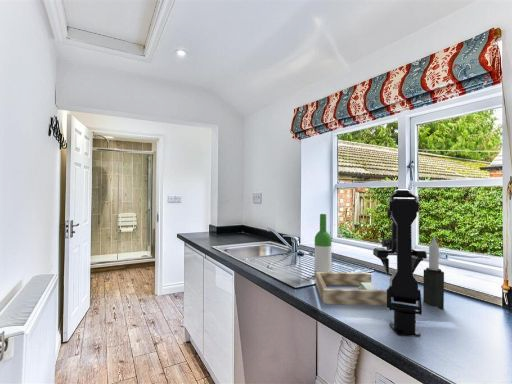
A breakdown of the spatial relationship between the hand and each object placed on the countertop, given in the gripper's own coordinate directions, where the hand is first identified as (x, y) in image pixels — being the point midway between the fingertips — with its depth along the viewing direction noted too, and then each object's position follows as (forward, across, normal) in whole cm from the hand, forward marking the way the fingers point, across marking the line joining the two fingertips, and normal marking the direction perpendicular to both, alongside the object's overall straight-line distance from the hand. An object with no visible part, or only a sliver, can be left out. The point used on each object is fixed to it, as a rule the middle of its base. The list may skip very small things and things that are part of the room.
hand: (399, 274), depth 117 cm
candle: (+8, -7, +12) cm, 16 cm away
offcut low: (+8, +12, +4) cm, 15 cm away
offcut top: (+6, +12, +4) cm, 14 cm away
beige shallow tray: (+8, +21, +4) cm, 22 cm away
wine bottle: (+8, +27, -19) cm, 34 cm away
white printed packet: (+8, 0, 0) cm, 8 cm away
